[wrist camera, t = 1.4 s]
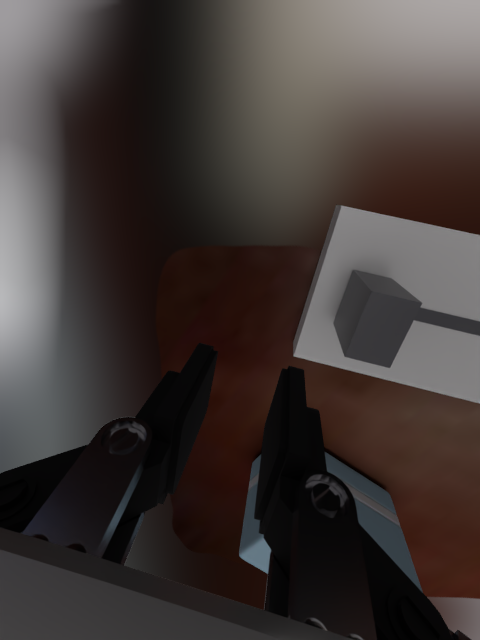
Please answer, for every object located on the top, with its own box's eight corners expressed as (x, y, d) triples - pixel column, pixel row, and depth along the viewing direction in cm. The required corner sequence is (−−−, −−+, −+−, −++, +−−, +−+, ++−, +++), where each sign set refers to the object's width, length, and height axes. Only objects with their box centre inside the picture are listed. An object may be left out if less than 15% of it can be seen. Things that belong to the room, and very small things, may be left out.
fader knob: (391, 278, 23) (422, 303, 18) (368, 331, 25) (389, 368, 20) (353, 269, 24) (371, 290, 18) (333, 323, 26) (344, 356, 20)
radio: (247, 460, 39) (210, 689, 21) (288, 421, 35) (284, 658, 17) (340, 518, 40) (380, 779, 22) (388, 486, 37) (483, 768, 19)
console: (681, 278, 23) (735, 289, 20) (565, 410, 29) (595, 433, 26) (336, 204, 25) (341, 205, 22) (293, 342, 31) (293, 356, 28)
